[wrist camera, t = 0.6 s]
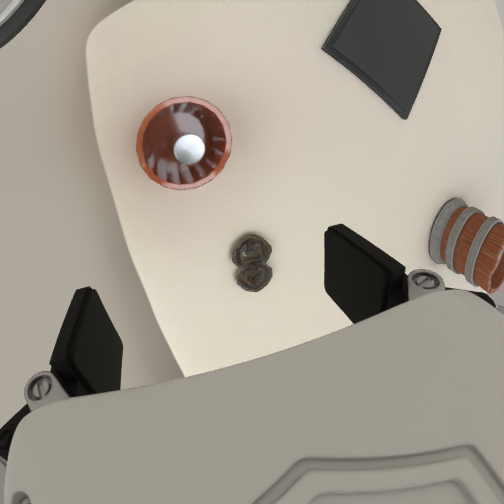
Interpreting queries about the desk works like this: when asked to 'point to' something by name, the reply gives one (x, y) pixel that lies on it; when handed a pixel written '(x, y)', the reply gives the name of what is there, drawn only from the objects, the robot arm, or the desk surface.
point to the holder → (161, 147)
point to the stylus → (188, 147)
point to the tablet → (386, 47)
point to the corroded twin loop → (253, 263)
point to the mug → (469, 244)
